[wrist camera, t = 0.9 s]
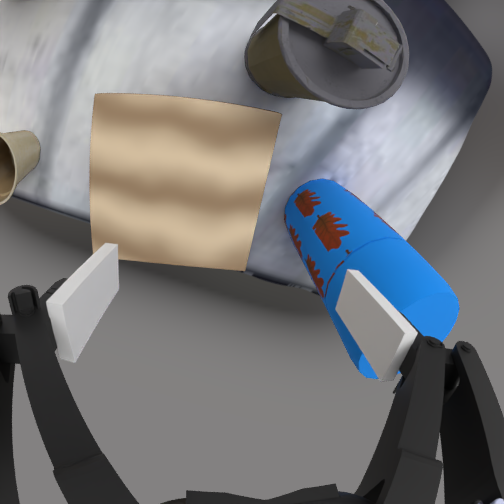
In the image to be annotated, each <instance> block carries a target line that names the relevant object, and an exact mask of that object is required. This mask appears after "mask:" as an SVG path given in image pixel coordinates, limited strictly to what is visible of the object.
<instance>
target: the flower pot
mask: <svg viewBox="0 0 504 504" xmlns="http://www.w3.org/2000/svg"><path fill="white" fill-rule="evenodd" d="M39 154H40V145H39V141H38V139H37V137H36V136H35V135H34V134H33V133H32V132H30V131H25V130H23V131H16V132H9V133H0V205H2V204H4V203H5V202H6V201H7V200H9V198H10V197H11V196H12V194H13V192H14V190H15V188H16V186H17V184H18V183H19V182H20V181H21V180H22V179H23V178H24V177H25V176H26V175H27V174H28V173H29V172H30V171H31V170H33V169H34V168H35V166H36V165H37V163H38V161H39Z"/></svg>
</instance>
